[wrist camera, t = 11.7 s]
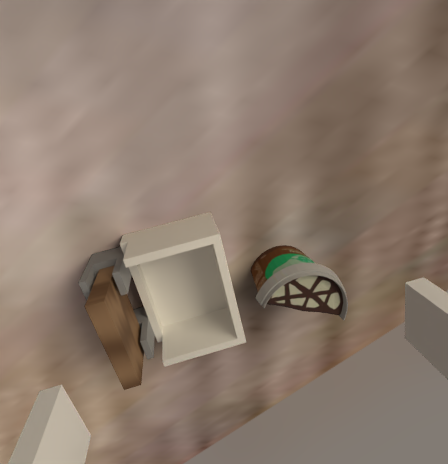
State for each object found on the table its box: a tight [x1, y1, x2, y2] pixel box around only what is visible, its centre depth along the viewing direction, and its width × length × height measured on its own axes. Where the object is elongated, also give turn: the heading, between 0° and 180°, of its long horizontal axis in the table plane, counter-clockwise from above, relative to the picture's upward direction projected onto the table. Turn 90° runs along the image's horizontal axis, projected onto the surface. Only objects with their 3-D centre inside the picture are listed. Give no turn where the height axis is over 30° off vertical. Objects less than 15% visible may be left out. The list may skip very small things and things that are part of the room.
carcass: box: [79, 212, 246, 367], centre depth 42 cm, size 16×17×8 cm
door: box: [85, 265, 144, 390], centre depth 39 cm, size 12×2×8 cm, turn 12°
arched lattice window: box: [251, 246, 348, 320], centre depth 43 cm, size 12×6×10 cm, turn 74°
